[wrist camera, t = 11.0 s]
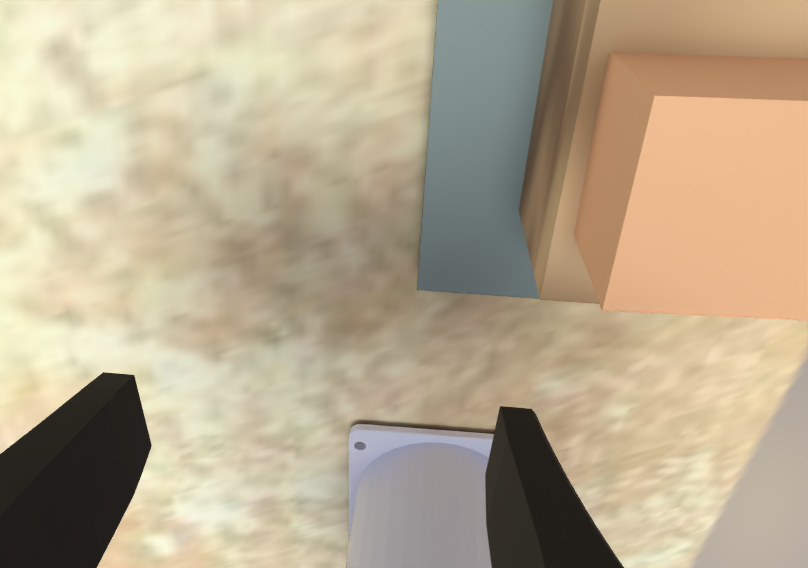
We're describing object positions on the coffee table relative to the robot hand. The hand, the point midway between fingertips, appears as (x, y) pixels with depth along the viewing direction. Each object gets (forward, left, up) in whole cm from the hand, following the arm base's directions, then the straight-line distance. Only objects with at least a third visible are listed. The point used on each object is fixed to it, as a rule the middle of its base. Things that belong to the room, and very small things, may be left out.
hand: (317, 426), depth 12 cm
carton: (+5, -7, -4) cm, 9 cm away
